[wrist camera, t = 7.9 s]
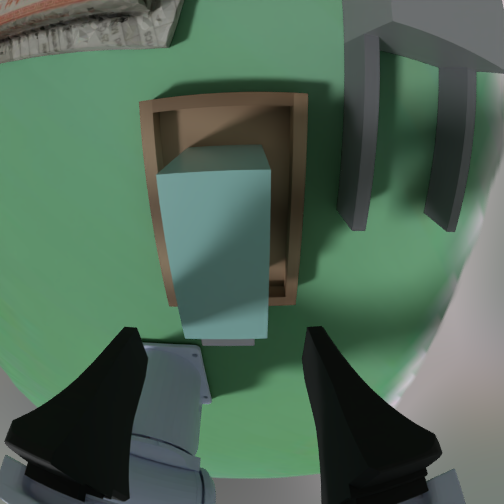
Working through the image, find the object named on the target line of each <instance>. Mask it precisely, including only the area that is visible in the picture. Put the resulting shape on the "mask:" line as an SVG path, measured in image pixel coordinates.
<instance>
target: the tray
mask: <svg viewBox="0 0 504 504" xmlns="http://www.w3.org/2000/svg"><path fill="white" fill-rule="evenodd" d="M139 107H140V122H141V135H142V146H143V156H144V165H145V173H146V181H147V189H148V196H149V203H150V210H151V216H152V222H153V228H154V234H155V240H156V245H157V251H158V256H159V261H160V266H161V271H162V276H163V280H164V285H165V290H166V294H167V298H168V303H169V306H173V307H178V305H177V300H176V295H175V291H174V286H173V281H172V275H171V270H170V265H169V259H168V254H167V248H166V242H165V236H164V230H163V223H162V217H161V210H160V203H159V195H158V187H157V179H156V174H157V173H159V172H160V171H161V170H162V169H163V168H164V167H165V166H167V165H168V164H169V163H170V162H171V161H172V160H173V159H175V158H176V157H177V156H178V155H179V154H181V153H182V152H183V151H184V150H185V149H187V148H188V147H202V146H222V145H262V147H263V150H264V152H265V155H266V158H267V160H268V163H269V166H270V169H271V207H270V260H269V298H268V306H281V305H295V304H296V295H297V285H298V274H299V263H300V252H301V239H302V226H303V211H304V195H305V177H306V154H307V123H308V94H307V93H288V92H229V93H210V94H197V95H186V96H176V97H168V98H160V99H153V100H147V101H141V102H139Z"/></svg>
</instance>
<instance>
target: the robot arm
mask: <svg viewBox="0 0 504 504" xmlns="http://www.w3.org/2000/svg"><path fill="white" fill-rule="evenodd" d="M302 363H303V371H304V379H305V383H306V388H307V392H308V396H309V400H310V404H311V408H312V412H313V416H314V420H315V426H316V431H317V440H318V449H319V460H320V474H321V499H322V500H321V502H322V504H466V503H465V500H464V497H463V493H462V490H461V486H460V483H459V480H458V477H457V474H456V471H455V469H452V470H450V471H447V472H446V473H443V474H441V475H439V476H436V477H434V478H432V479H430V480H428V481H426V479H425V476H426V475H427V474H428V473H427V470H426V467H427V466H429V465H430V464H432V463H433V462H434V461H436V460H437V459H438V458H439V457H440V456H441V455H442V450H441V447H440V444H439V442H438V440H437V438H436V436H435V434H434V433H431V432H430V431H428V430H426V429H424V428H423V427H421V426H419V425H417V424H415V423H414V422H412V421H411V420H409V419H408V418H406V417H405V416H403V415H402V414H400V413H399V412H398V411H397V410H395V409H394V408H393V407H392V406H390V405H389V404H388V403H386V402H385V401H384V400H383V399H382V398H381V397H380V396H379V395H377V394H376V393H375V392H374V391H373V390H372V389H371V388H370V387H369V386H368V385H367V384H366V383H365V382H364V381H363V379H362V378H361V377H360V376H359V375H358V374H357V373H356V372H355V370H354V369H353V368H352V367H351V366H350V364H349V363H348V362H347V360H346V359H345V358H344V357H343V355H342V354H341V353H340V351H339V350H338V349H337V347H336V346H335V344H334V343H333V341H332V340H331V339H330V337H329V336H328V334H327V332H326V331H325V329H324V328H323V327H322V326H316V327H307V332H306V338H305V344H304V350H303V356H302ZM211 402H212V398H211V394H210V390H209V385H208V381H207V377H206V372H205V368H204V363H203V358H202V354H201V349H200V347H199V346H197V345H184V344H161V343H145V342H142V340H141V338H140V335H139V332H138V329H137V328H134V327H124V328H123V329H122V330H121V331H120V332H119V334H118V335H117V336H116V337H115V338H114V339H113V340H112V341H111V343H110V344H109V345H108V346H107V347H106V348H105V350H104V351H103V352H102V353H101V354H100V355H99V356H98V357H97V358H96V360H95V361H94V362H93V363H92V364H91V365H90V366H89V367H88V368H87V369H86V370H85V371H84V372H83V373H82V374H81V375H80V376H79V377H78V378H77V379H76V380H75V381H74V382H72V383H71V384H70V385H69V386H68V387H67V388H65V389H64V390H63V391H62V392H60V393H59V394H57V395H56V396H55V397H53V398H52V399H51V400H49V401H48V402H46V403H45V404H43V405H42V406H40V407H38V408H37V409H35V410H33V411H31V412H30V413H28V414H25V415H23V416H21V417H19V418H17V419H15V420H13V421H12V424H11V426H10V428H9V431H8V433H7V436H6V439H5V444H6V445H7V446H8V447H9V448H10V449H11V450H13V451H14V452H15V453H17V454H18V455H19V456H20V457H22V458H23V459H25V460H26V461H27V462H28V464H27V466H25V465H24V464H22V463H20V462H18V461H16V460H15V459H13V458H11V457H9V456H8V455H5V457H4V460H3V463H2V466H1V470H0V499H2V500H3V501H4V502H6V503H7V504H215V503H216V491H215V485H214V482H213V480H212V478H211V477H210V475H209V473H208V472H207V471H206V469H204V468H200V458H199V457H195V454H196V452H197V450H198V444H199V432H200V421H201V411H202V404H210V403H211Z"/></svg>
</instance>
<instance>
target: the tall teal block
mask: <svg viewBox="0 0 504 504" xmlns="http://www.w3.org/2000/svg"><path fill="white" fill-rule="evenodd" d="M156 179H157V187H158V195H159V203H160V210H161V217H162V223H163V230H164V236H165V242H166V248H167V254H168V259H169V265H170V270H171V275H172V281H173V286H174V291H175V295H176V300H177V305H178V309H179V314H180V318H181V323H182V327H183V331H184V335H185V339H201V341H202V346H254V339H265V338H267V330H268V298H269V260H270V207H271V169H270V166H269V163H268V160H267V158H266V155H265V152H264V150H263V147H262V145H222V146H202V147H188V148H187V149H185V150H184V151H183V152H182V153H181V154H179V155H178V156H177V157H176V158H175V159H173V160H172V161H171V162H170V163H169V164H168V165H167V166H165V167H164V168H163V169H162V170H161V171H160V172H159V173H157V174H156Z"/></svg>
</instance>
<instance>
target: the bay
mask: <svg viewBox="0 0 504 504" xmlns="http://www.w3.org/2000/svg"><path fill="white" fill-rule="evenodd" d="M342 5H343V23H344V61H345V78H344V118H343V138H342V154H341V168H340V179H339V190H338V200H337V211H338V213H339V214H340V215H341V217H342V218H343V219H344V221H345V222H346V223H347V225H348V226H349V227H350V229H351V230H352V231H365V229H366V224H367V217H368V211H369V204H370V197H371V190H372V182H373V174H374V165H375V155H376V144H377V131H378V115H379V89H380V51H384V52H388V53H392V54H396V55H400V56H403V57H407V58H410V59H414V60H417V61H420V62H423V63H426V64H429V65H432V66H435V67H438V68H439V96H438V116H437V128H436V139H435V148H434V156H433V163H432V170H431V176H430V182H429V188H428V194H427V199H426V204H425V209H424V213H425V214H426V215H427V216H428V217H430V218H431V219H432V220H433V221H434V222H436V223H437V224H438V225H439V226H440V227H442V228H443V229H444V230H445V231H446V232H455V230H456V226H457V222H458V219H459V215H460V211H461V206H462V202H463V197H464V193H465V188H466V183H467V177H468V172H469V166H470V159H471V152H472V144H473V135H474V125H475V110H476V72H491V73H502V74H504V9H503V4H502V0H342Z"/></svg>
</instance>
